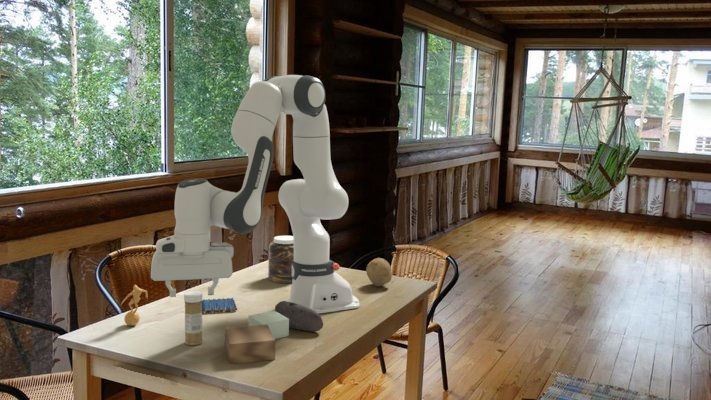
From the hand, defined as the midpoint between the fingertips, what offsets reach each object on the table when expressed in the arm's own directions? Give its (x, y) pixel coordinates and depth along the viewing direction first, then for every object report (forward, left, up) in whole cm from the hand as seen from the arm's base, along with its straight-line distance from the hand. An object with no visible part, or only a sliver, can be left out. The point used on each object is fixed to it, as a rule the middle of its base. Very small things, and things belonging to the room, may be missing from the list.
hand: (192, 295), depth 162 cm
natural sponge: (-65, -39, -13) cm, 77 cm away
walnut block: (-13, +10, -13) cm, 21 cm away
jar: (-35, -54, -13) cm, 66 cm away
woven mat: (-9, -27, -14) cm, 32 cm away
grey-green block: (-20, -2, -13) cm, 24 cm away
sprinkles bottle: (0, 0, -13) cm, 13 cm away
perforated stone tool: (-30, -4, -13) cm, 33 cm away
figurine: (+15, -16, -13) cm, 25 cm away
